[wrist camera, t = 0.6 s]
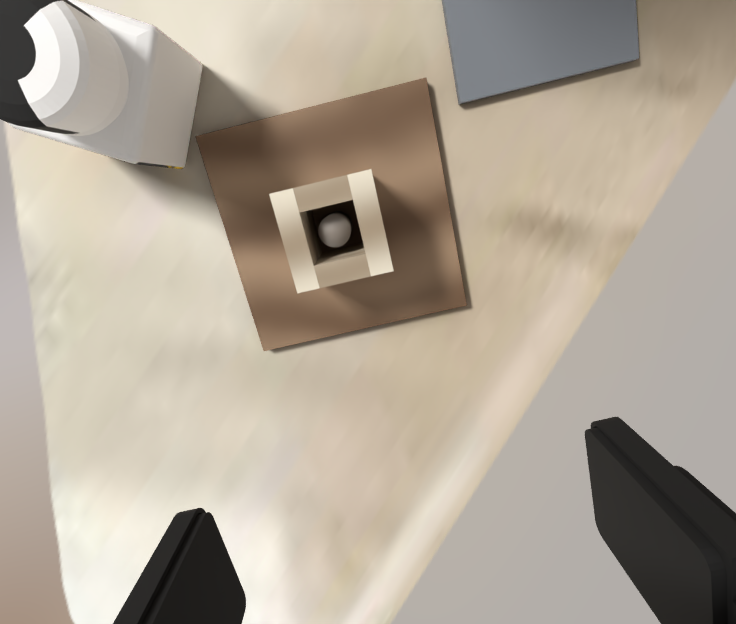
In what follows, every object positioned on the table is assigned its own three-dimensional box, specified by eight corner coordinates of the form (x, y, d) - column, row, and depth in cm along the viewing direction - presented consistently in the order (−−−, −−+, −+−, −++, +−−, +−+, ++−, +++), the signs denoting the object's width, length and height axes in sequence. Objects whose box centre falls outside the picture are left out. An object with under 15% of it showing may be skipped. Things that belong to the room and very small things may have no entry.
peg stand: (199, 137, 30) (166, 127, 25) (424, 80, 30) (437, 57, 25) (265, 347, 35) (249, 374, 30) (464, 302, 34) (482, 322, 29)
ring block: (286, 193, 31) (269, 193, 25) (369, 172, 30) (371, 169, 25) (308, 274, 32) (297, 293, 27) (388, 256, 32) (393, 271, 26)
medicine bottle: (84, 139, 30) (-86, 109, 19) (97, 28, 29) (-82, -81, 17) (186, 170, 31) (82, 159, 20) (205, 63, 29) (102, -19, 18)
